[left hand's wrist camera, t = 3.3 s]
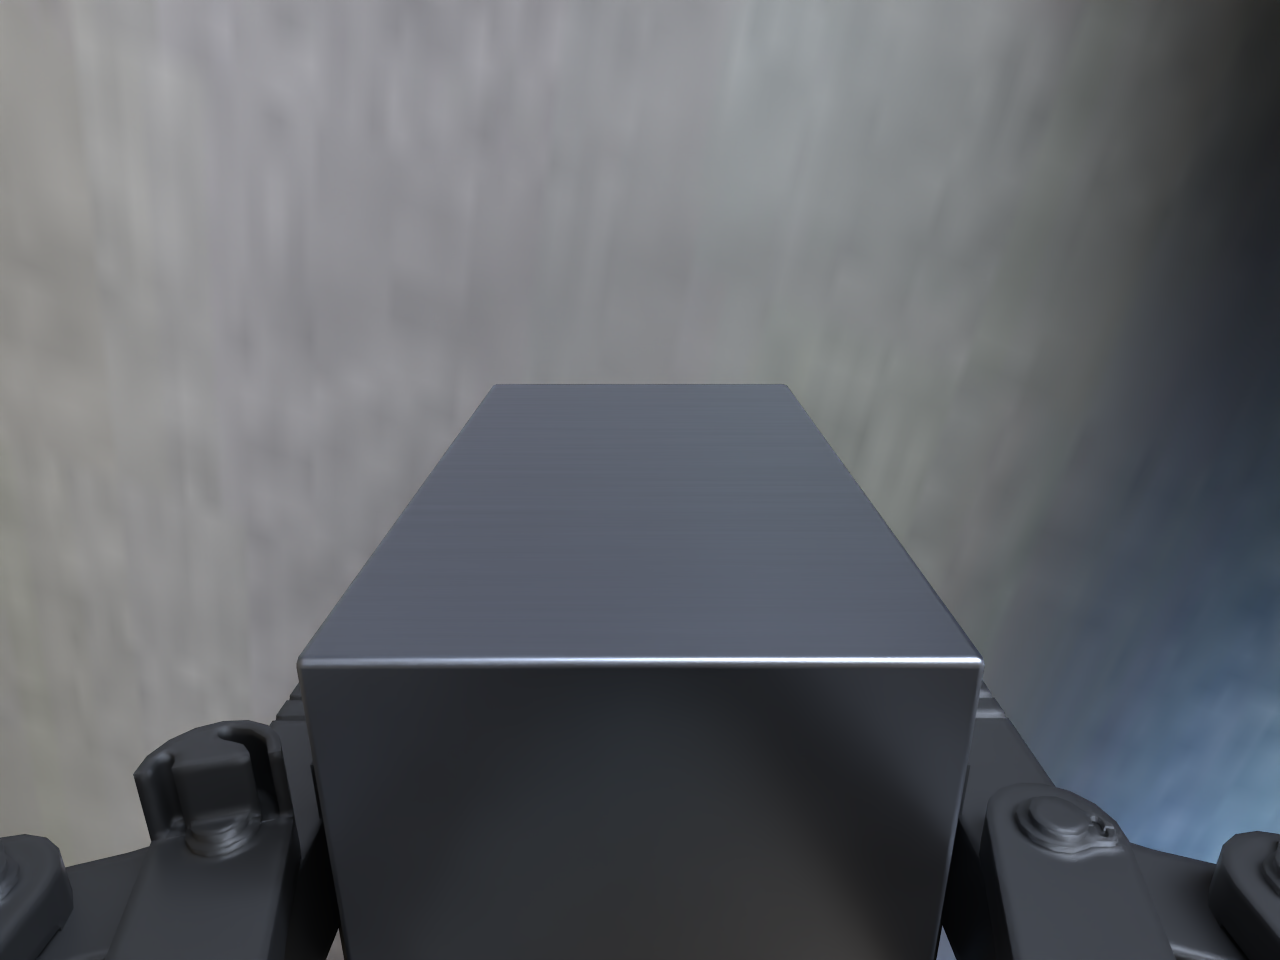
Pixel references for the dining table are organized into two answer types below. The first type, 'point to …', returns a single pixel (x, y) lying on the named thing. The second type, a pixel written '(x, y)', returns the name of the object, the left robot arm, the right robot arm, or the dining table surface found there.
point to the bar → (640, 696)
